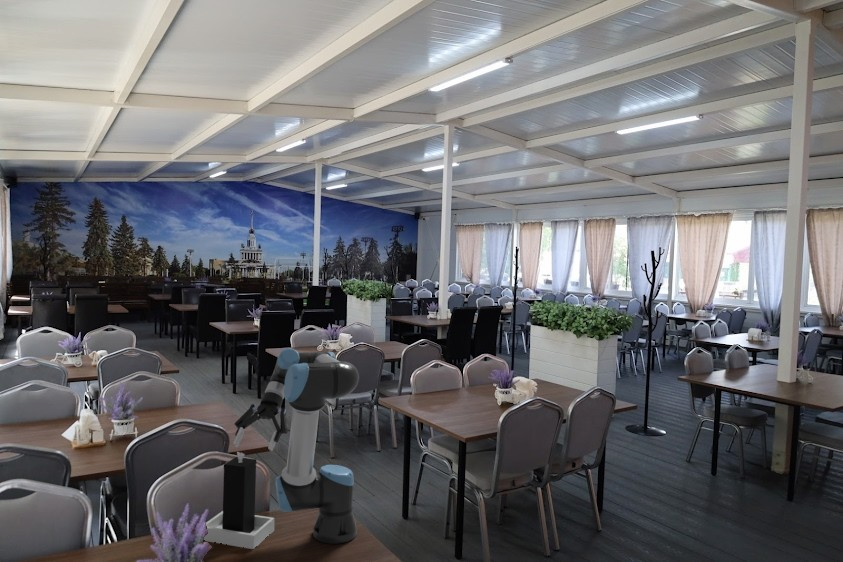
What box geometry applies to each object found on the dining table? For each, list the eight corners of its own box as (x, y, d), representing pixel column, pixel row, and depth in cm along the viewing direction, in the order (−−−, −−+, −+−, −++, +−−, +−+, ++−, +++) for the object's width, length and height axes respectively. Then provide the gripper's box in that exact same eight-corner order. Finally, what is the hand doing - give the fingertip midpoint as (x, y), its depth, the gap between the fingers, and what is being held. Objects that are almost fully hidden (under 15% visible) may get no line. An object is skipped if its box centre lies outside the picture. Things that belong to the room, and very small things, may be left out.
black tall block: (242, 539, 198) (245, 457, 197) (221, 536, 200) (223, 454, 199) (254, 529, 206) (256, 450, 205) (234, 526, 208) (236, 447, 206)
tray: (274, 530, 208) (274, 518, 208) (253, 549, 194) (253, 535, 194) (223, 522, 212) (223, 510, 212) (199, 540, 199) (200, 526, 199)
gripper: (307, 404, 225) (287, 456, 211) (247, 398, 230) (225, 448, 216) (301, 393, 219) (281, 446, 205) (240, 388, 225) (217, 438, 211)
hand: (252, 447), depth 211 cm, fingers open, 13 cm apart
